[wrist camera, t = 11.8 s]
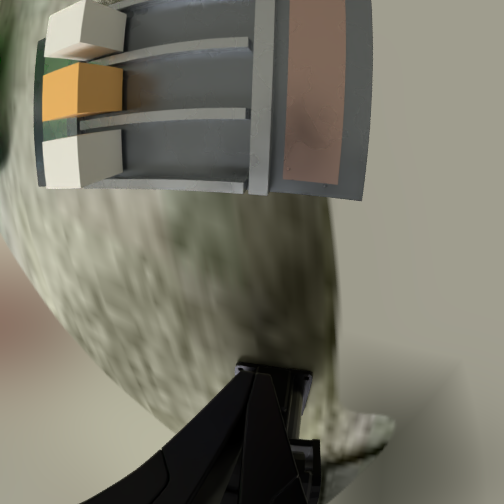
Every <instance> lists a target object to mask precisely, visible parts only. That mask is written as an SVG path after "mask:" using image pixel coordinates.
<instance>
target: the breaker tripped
mask: <svg viewBox="0 0 504 504" xmlns="http://www.w3.org/2000/svg"><path fill="white" fill-rule="evenodd" d="M122 82H123V69H122V68H116V67H110V66H104V65H97V64H90V63H82V62H78V63H75V64H72V65H69V66H67V67H64V68H61V69H58V70H56V71H53V72H51V73H48V74H46V75H43V93H42V122H43V121H50V120H58V119H66V118H75V117H85V116H92V115H97V114H103V113H110V112H116V111H122Z"/></svg>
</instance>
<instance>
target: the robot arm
mask: <svg viewBox="0 0 504 504" xmlns="http://www.w3.org/2000/svg"><path fill="white" fill-rule="evenodd" d="M305 376H308V377H305ZM312 379H313V374H312V372H310V371H304V370H295V369H286V368H278V367H270V366H263V365H256V364H249V363H243V362H239V363H237V364H236V367H235V377H234V378H233V379H232V380H231V381H230V382H229V383H228V384H227V385H226V386H225V387H224V388H223V389H222V390H221V391H220V392H219V393H218V394H217V395H216V396H215V397H214V398H213V399H212V400H211V401H210V402H209V403H208V404H207V405H206V406H205V407H204V408H203V409H202V410H201V411H200V412H199V413H198V414H197V415H196V416H195V417H194V418H193V419H192V420H191V421H190V422H189V423H188V424H187V425H186V426H185V427H184V428H183V429H181V430H180V431H179V432H178V433H177V434H176V435H175V436H174V437H173V438H172V439H171V440H170V441H169V442H168V443H166V445H164V446H163V447H162V450H159V451H158V452H157V453H155V454H154V455H153V456H152V457H151V458H150V459H149V460H147V461H146V462H145V463H144V464H142V465H141V466H140V467H139V468H137V469H136V470H135V471H133V472H132V473H130V474H129V475H127V476H126V477H124V478H123V479H121V480H120V481H118V482H117V483H115V484H113V485H112V486H110V487H109V488H107V489H105V490H103V491H102V492H100V493H98V494H97V495H95V496H93V497H91V498H90V499H88V500H86V501H84V502H82V503H79V504H317V502H318V498H319V493H320V485H321V459H320V440H318V439H312V440H304V439H299V433H300V423H301V416H302V415H303V411H304V408H305V404H306V401H307V397H308V394H309V390H310V386H311V383H312Z"/></svg>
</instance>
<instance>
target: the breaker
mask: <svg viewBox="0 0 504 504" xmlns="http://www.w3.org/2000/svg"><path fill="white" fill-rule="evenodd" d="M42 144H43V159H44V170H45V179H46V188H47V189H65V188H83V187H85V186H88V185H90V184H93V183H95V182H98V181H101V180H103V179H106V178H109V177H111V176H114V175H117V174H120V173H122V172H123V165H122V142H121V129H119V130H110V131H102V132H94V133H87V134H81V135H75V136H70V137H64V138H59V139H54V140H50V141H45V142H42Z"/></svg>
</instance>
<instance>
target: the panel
mask: <svg viewBox="0 0 504 504" xmlns="http://www.w3.org/2000/svg"><path fill="white" fill-rule="evenodd" d="M108 7H110V8H113V9H115V10H117V11H120V12H122V13H125V14H127V17H126V26H125V36H124V47H123V52H120V53H116V54H112V55H108V56H105V57H101V58H98V59H94V60H91V61H81V60H72V59H63V58H51V57H44V52H45V43H46V38H44V39H42V40H40V41H38V46H37V55H36V66H35V81H34V141H35V156H36V167H37V177H38V185H39V186H46V179H45V170H44V159H43V144H42V142H45V141H50V140H54V139H59V138H64V137H70V136H75V135H81V134H87V133H94V132H102V131H110V130H119V129H121V142H122V165H123V172H122V173H120V174H117V175H114V176H111V177H109V178H106V179H103V180H101V181H98V182H95V183H93V184H90V185H88V186H85V187H84V188H118V189H163V190H188V191H208V192H225V193H240V194H243V193H244V192H245V191H246V190H249V194H253V195H266V196H267V195H268V194H269V192H282V193H293V194H303V195H313V196H322V197H331V198H340V199H349V200H356V201H362V196H363V188H364V181H365V172H366V162H367V153H368V142H369V130H370V117H371V98H372V71H373V36H372V7H371V0H123V1H120V2H117V3H114V4H111V5H108ZM78 62H82V63H90V64H97V65H104V66H110V67H116V68H122V69H123V82H122V111H116V112H110V113H103V114H97V115H92V116H85V117H75V118H66V119H58V120H50V121H43V122H42V93H43V75H46V74H48V73H51V72H53V71H56V70H58V69H61V68H64V67H67V66H69V65H72V64H75V63H78ZM71 189H81V188H71Z"/></svg>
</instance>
